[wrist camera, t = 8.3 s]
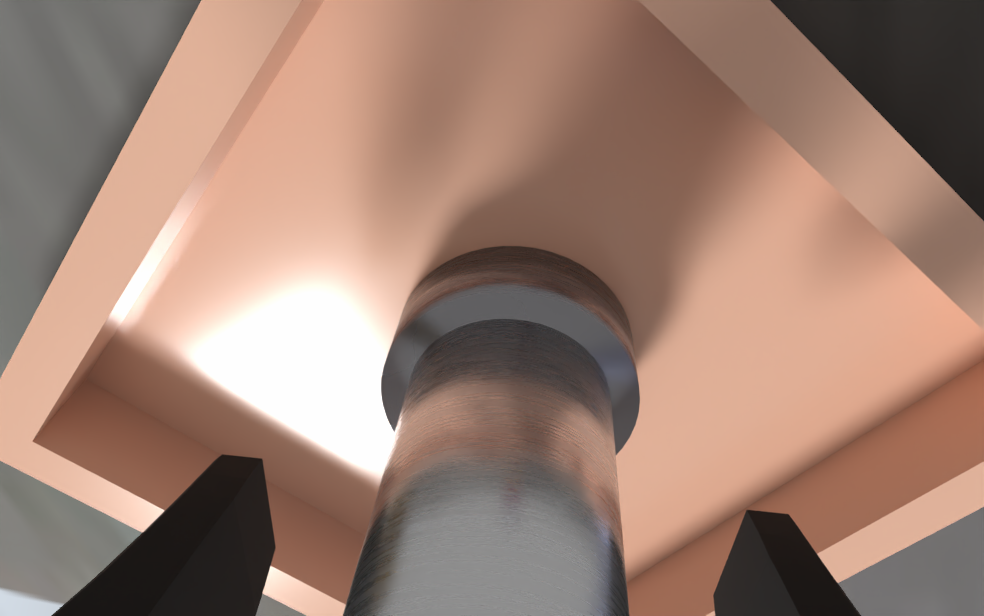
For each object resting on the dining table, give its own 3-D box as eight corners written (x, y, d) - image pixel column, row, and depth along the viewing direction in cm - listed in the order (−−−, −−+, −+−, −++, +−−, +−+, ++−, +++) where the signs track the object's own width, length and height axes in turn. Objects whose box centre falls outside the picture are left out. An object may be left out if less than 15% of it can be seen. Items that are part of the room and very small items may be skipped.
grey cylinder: (662, 270, 13) (766, 734, 6) (600, 452, 15) (629, 920, 9) (408, 225, 13) (241, 645, 6) (389, 415, 15) (255, 859, 9)
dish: (1073, 322, 14) (1166, 410, 11) (546, 644, 21) (545, 736, 18) (438, -331, 9) (402, -380, 7) (42, 364, 16) (-34, 443, 14)
